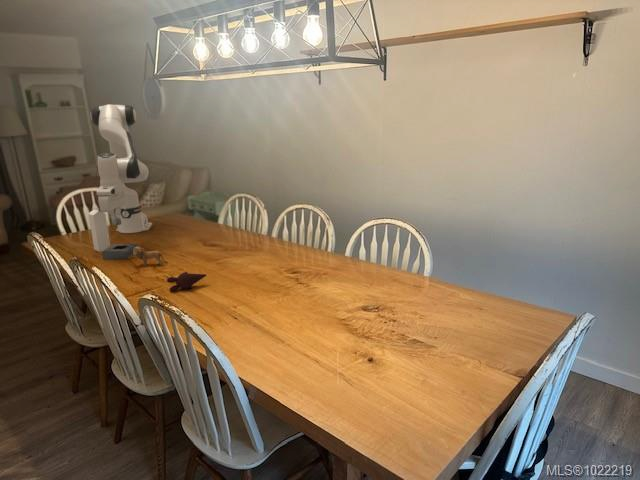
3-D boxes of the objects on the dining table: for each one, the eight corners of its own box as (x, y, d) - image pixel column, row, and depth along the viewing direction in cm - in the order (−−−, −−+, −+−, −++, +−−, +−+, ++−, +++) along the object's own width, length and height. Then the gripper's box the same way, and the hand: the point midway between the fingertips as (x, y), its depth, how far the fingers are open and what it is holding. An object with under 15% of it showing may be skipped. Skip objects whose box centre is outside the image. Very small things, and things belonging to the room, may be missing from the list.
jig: (114, 251, 227) (113, 244, 226) (140, 251, 227) (139, 243, 226) (103, 259, 216) (102, 251, 215) (130, 259, 216) (128, 250, 215)
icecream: (202, 266, 185) (164, 276, 178) (206, 266, 178) (167, 277, 172) (206, 282, 185) (169, 293, 179) (210, 284, 179) (171, 295, 172)
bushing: (114, 223, 219) (112, 206, 217) (122, 223, 219) (120, 206, 217) (110, 225, 215) (108, 208, 213) (119, 225, 215) (116, 208, 213)
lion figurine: (133, 267, 204) (130, 248, 201) (136, 264, 209) (133, 245, 206) (167, 266, 205) (164, 246, 203) (169, 262, 210) (167, 243, 208)
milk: (99, 252, 227) (91, 209, 221) (94, 249, 231) (86, 207, 225) (111, 249, 232) (104, 206, 225) (106, 247, 236) (99, 205, 229)
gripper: (114, 184, 222) (118, 212, 226) (94, 192, 203) (99, 222, 207) (127, 184, 222) (131, 212, 226) (108, 192, 203) (112, 222, 207)
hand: (115, 217), depth 216 cm, fingers closed on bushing, 4 cm apart
